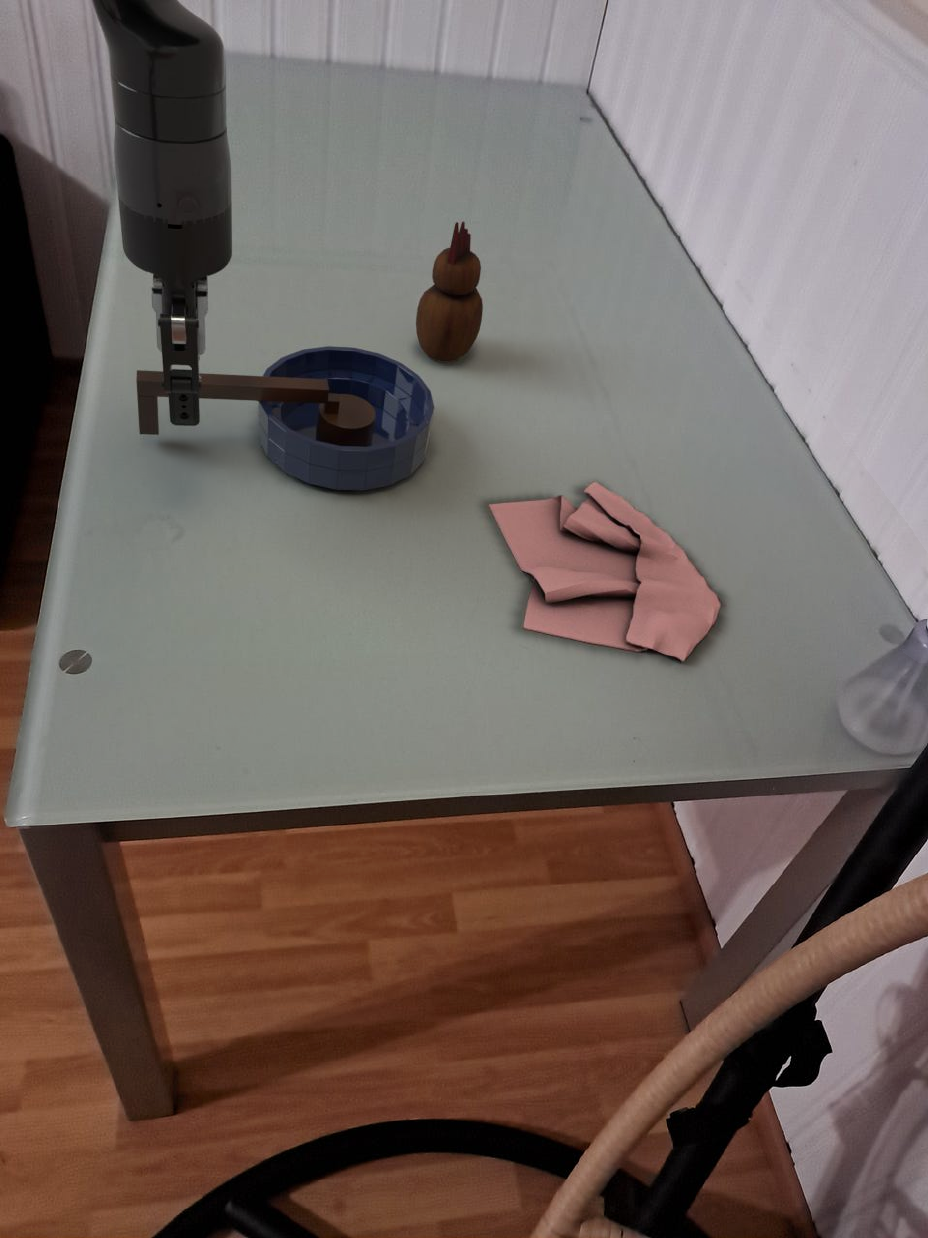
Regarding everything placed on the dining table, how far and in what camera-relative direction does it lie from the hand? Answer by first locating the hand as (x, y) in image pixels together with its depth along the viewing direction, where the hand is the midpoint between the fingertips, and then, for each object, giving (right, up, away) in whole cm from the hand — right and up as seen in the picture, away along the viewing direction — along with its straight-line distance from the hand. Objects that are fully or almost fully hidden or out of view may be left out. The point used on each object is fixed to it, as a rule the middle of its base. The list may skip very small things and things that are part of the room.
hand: (185, 391), depth 77 cm
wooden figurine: (+20, +10, +25) cm, 34 cm away
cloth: (+34, -14, +7) cm, 37 cm away
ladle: (+4, -1, +9) cm, 10 cm away
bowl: (+11, -2, +12) cm, 17 cm away
